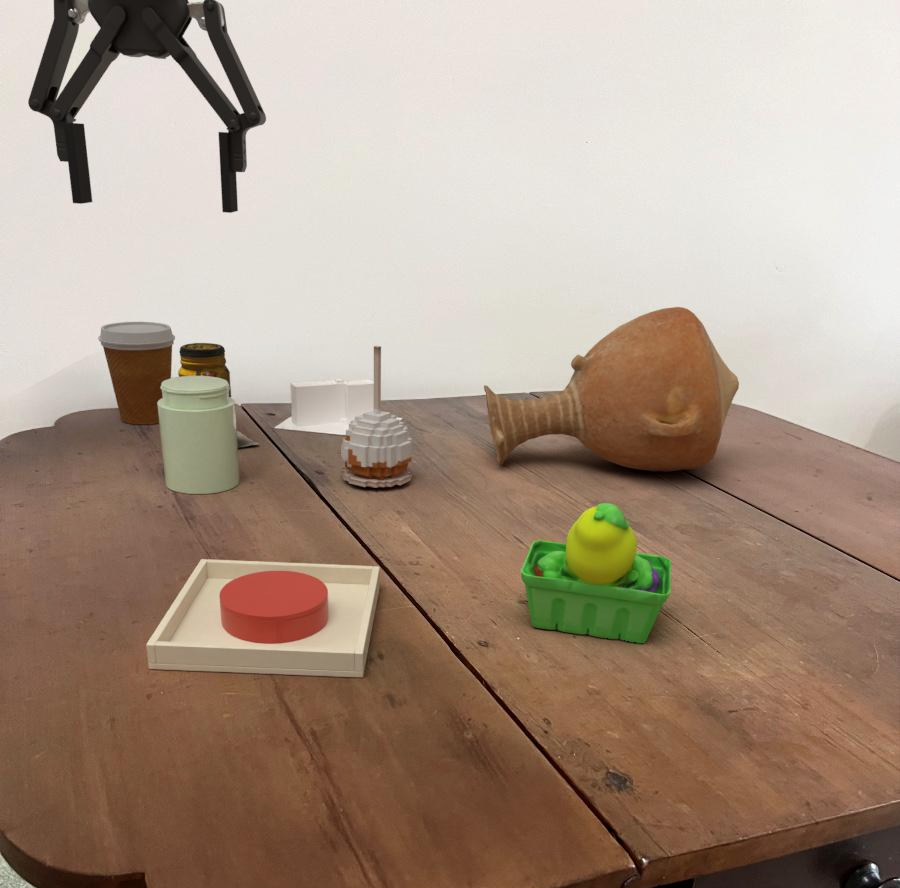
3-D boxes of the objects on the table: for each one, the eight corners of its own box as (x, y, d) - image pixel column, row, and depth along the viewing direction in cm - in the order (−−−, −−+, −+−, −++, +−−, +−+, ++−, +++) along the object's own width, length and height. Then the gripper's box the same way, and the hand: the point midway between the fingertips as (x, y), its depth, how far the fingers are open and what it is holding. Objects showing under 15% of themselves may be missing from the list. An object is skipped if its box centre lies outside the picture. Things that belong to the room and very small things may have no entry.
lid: (334, 640, 69) (334, 612, 68) (222, 648, 67) (220, 620, 66) (322, 593, 76) (321, 567, 75) (220, 599, 74) (218, 573, 73)
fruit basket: (663, 611, 77) (683, 483, 72) (660, 662, 69) (683, 521, 64) (528, 593, 79) (539, 467, 74) (511, 640, 71) (522, 502, 66)
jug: (783, 400, 96) (499, 427, 95) (736, 499, 113) (495, 523, 112) (736, 263, 105) (477, 287, 104) (699, 374, 122) (475, 395, 121)
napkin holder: (272, 428, 122) (270, 385, 120) (301, 408, 132) (300, 368, 130) (381, 438, 120) (382, 395, 117) (403, 417, 130) (403, 377, 127)
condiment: (173, 440, 116) (165, 342, 110) (238, 432, 120) (232, 338, 115) (193, 455, 110) (184, 353, 105) (259, 446, 114) (255, 348, 109)
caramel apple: (367, 466, 109) (368, 336, 103) (423, 478, 106) (427, 345, 99) (328, 483, 103) (325, 346, 96) (386, 496, 100) (387, 356, 93)
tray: (148, 669, 65) (145, 644, 64) (202, 580, 79) (200, 558, 78) (362, 677, 65) (362, 653, 64) (379, 587, 79) (380, 566, 78)
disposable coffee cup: (93, 418, 123) (81, 326, 117) (151, 406, 130) (142, 318, 125) (139, 432, 118) (129, 336, 113) (197, 418, 125) (189, 327, 120)
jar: (155, 492, 98) (145, 389, 93) (176, 469, 105) (167, 373, 100) (230, 495, 98) (224, 393, 93) (246, 472, 105) (240, 376, 100)
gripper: (294, -56, 78) (298, 212, 88) (3, -74, 78) (38, 197, 88) (277, -76, 72) (284, 218, 81) (-42, -95, 72) (2, 201, 81)
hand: (156, 207), depth 84 cm, fingers open, 13 cm apart
